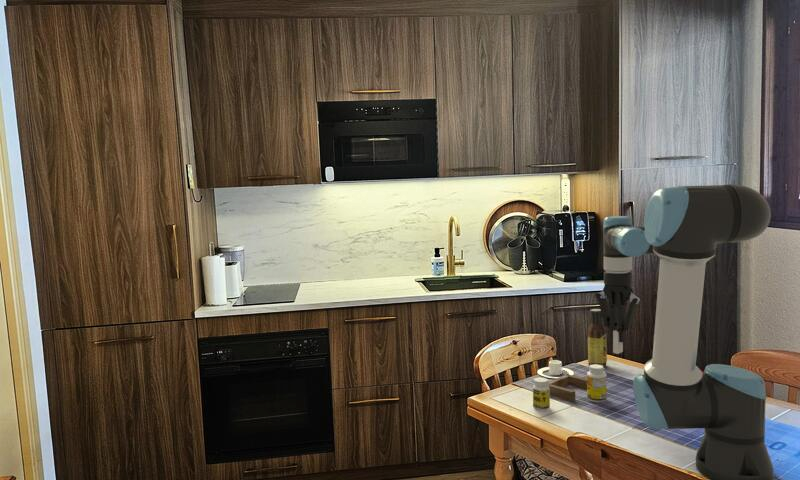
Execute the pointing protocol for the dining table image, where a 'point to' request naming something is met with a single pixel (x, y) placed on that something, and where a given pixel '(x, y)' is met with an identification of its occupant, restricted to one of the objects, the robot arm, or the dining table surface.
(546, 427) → the dining table surface
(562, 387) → the pocket
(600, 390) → the supplement bottle
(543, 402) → the supplement bottle
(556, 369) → the candle holder
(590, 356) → the sauce bottle
